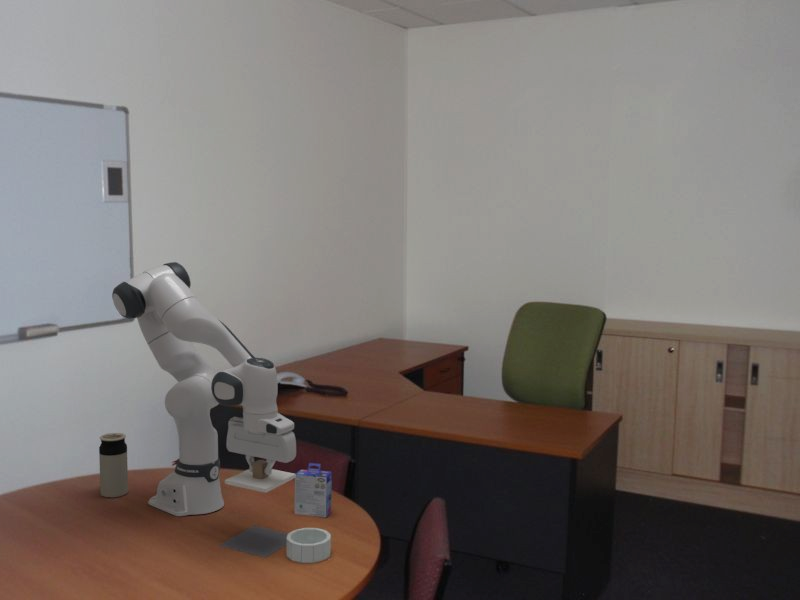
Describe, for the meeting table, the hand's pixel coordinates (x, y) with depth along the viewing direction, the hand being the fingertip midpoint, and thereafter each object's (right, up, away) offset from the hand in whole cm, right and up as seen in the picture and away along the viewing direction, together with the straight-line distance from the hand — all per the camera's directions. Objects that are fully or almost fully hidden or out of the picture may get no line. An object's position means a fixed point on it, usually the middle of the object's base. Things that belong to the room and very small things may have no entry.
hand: (260, 472), depth 216 cm
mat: (-1, -19, +3) cm, 19 cm away
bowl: (+13, -20, -4) cm, 24 cm away
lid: (0, -2, 0) cm, 2 cm away
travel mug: (-51, -14, +36) cm, 64 cm away
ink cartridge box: (+11, -17, +23) cm, 31 cm away
